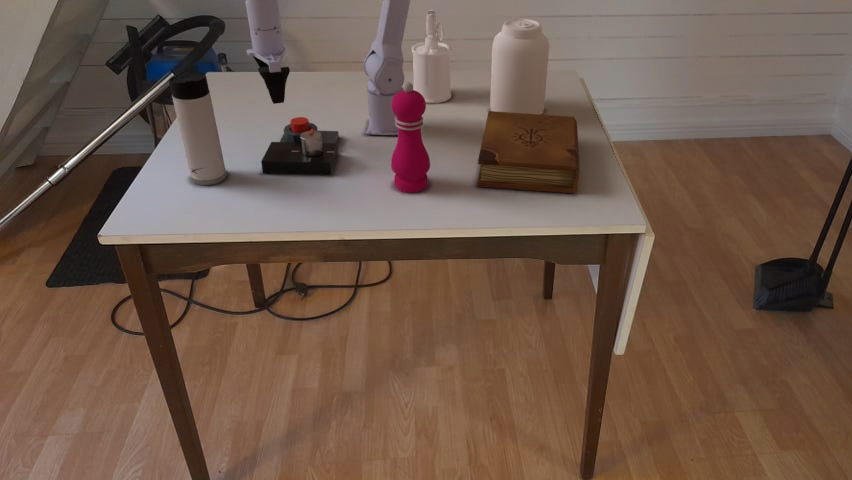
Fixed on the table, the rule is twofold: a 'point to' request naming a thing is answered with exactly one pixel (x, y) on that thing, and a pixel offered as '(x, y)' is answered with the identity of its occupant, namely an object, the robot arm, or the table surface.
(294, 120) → the stop button
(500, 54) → the can
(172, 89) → the travel mug
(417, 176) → the pepper mill
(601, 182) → the table surface
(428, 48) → the white oil can
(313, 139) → the burner knob
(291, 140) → the button box
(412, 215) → the table surface
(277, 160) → the panel
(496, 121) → the diary
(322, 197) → the table surface
